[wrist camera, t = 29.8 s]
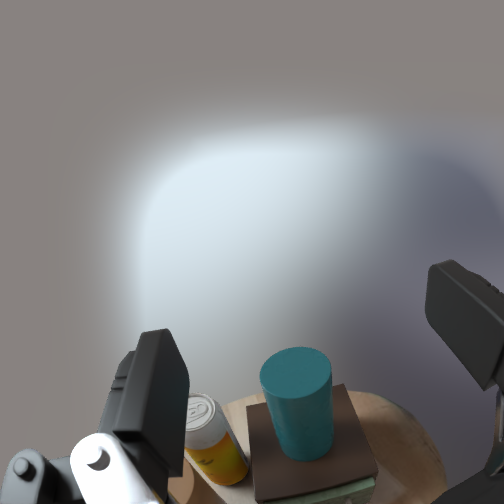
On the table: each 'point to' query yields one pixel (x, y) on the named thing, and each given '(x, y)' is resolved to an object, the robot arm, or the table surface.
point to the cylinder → (300, 401)
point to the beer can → (213, 441)
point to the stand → (192, 488)
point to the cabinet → (310, 472)
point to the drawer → (335, 494)
